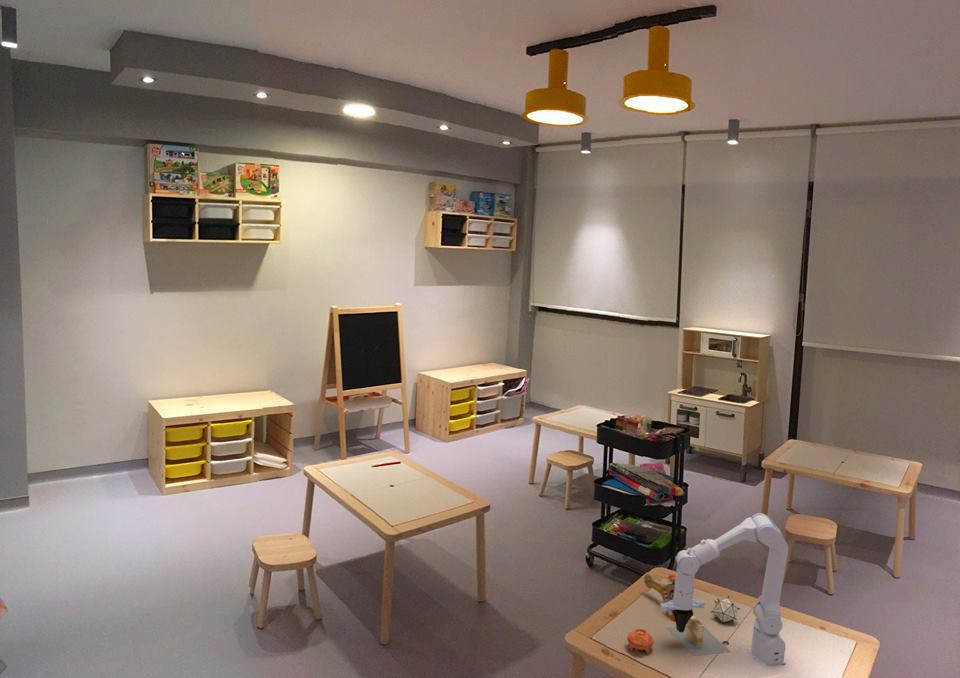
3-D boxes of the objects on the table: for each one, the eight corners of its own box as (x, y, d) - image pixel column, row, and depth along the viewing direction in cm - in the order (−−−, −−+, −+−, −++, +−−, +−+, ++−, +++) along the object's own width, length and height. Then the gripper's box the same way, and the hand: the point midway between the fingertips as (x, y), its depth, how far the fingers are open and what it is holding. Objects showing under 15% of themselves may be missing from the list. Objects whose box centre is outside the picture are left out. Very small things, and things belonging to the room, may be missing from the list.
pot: (635, 658, 209) (634, 635, 210) (623, 650, 216) (622, 627, 217) (659, 655, 211) (658, 632, 212) (646, 646, 219) (645, 624, 219)
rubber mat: (730, 653, 215) (730, 651, 215) (693, 657, 212) (693, 656, 212) (701, 625, 231) (701, 624, 230) (666, 629, 227) (666, 627, 227)
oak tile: (702, 646, 217) (704, 625, 216) (696, 647, 216) (698, 626, 216) (691, 636, 223) (694, 615, 222) (686, 636, 222) (688, 616, 221)
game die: (729, 633, 233) (746, 620, 227) (706, 624, 233) (722, 610, 227) (727, 610, 240) (744, 596, 234) (705, 600, 240) (721, 586, 234)
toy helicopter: (676, 624, 230) (680, 585, 229) (635, 595, 249) (638, 559, 247) (694, 619, 234) (698, 581, 232) (653, 591, 252) (656, 555, 251)
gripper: (697, 581, 221) (693, 621, 223) (656, 585, 218) (652, 625, 219) (710, 592, 215) (705, 633, 217) (668, 596, 211) (664, 638, 213)
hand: (680, 630), depth 217 cm, fingers closed
